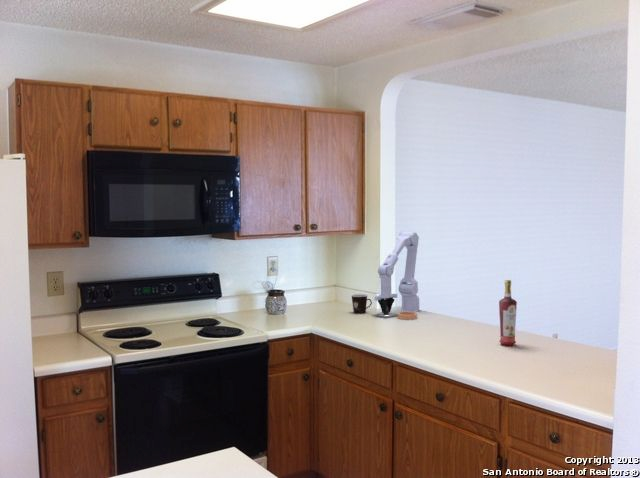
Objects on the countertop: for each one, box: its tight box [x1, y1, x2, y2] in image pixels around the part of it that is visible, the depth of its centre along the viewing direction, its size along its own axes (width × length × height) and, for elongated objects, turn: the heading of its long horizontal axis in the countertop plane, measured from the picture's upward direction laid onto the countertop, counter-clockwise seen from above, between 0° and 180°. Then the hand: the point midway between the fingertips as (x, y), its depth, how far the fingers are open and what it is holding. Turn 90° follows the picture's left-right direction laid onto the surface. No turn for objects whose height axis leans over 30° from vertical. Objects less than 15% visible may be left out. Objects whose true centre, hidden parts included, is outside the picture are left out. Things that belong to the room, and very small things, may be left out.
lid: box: [376, 305, 396, 318], centre depth 335 cm, size 10×10×5 cm
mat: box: [370, 313, 397, 320], centre depth 335 cm, size 12×12×1 cm
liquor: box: [498, 279, 518, 347], centre depth 270 cm, size 7×7×28 cm
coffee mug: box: [351, 293, 373, 315], centre depth 343 cm, size 12×9×10 cm
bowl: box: [396, 311, 418, 321], centre depth 327 cm, size 10×10×3 cm
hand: (386, 312), depth 335 cm, fingers closed on lid, 3 cm apart
